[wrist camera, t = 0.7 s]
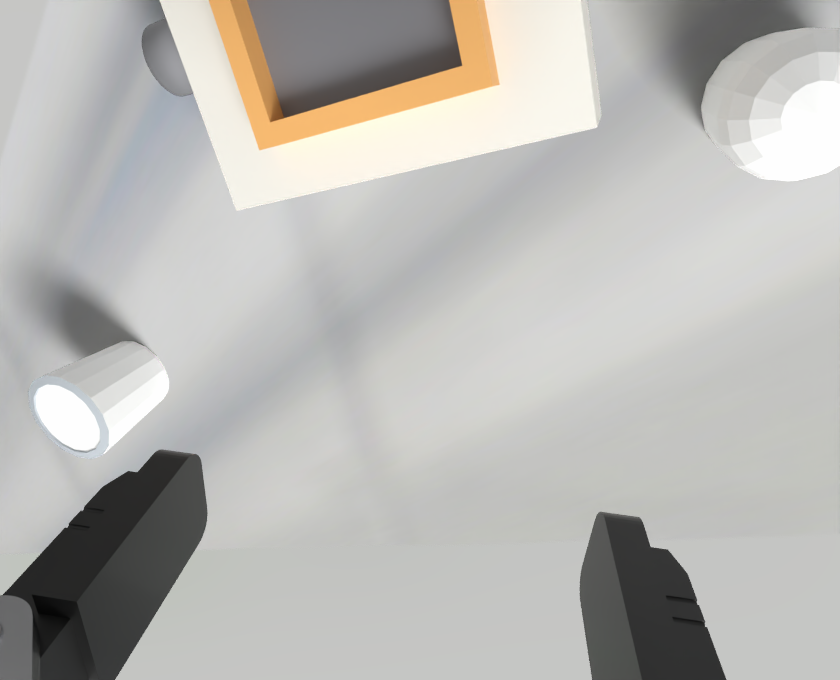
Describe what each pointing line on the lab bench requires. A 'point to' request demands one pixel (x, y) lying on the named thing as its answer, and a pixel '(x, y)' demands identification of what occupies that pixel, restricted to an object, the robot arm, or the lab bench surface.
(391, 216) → the lab bench surface
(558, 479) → the lab bench surface
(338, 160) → the plate
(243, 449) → the lab bench surface
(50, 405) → the white tapered cup
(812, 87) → the capsule
